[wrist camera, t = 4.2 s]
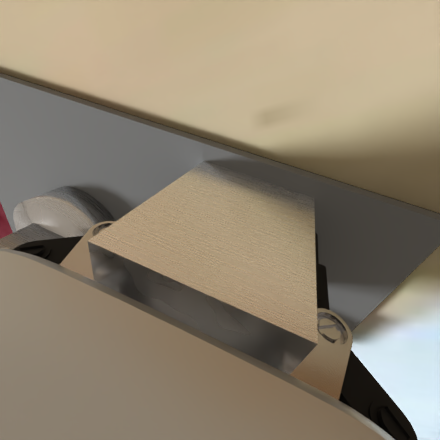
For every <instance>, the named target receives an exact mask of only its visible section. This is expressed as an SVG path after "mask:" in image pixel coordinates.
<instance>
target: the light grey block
mask: <svg viewBox="0 0 440 440" xmlns="http://www.w3.org/2000/svg"><path fill="white" fill-rule="evenodd" d="M88 247H89V253H90V259H91V265H92V271H93V277H94V279H95V280H97V281H99V283H100V284H102V285H104V286H106V287H108V288H111V289H113V290H115V291H117V292H119V293H121V294H123V295H125V296H127V297H130V298H132V299H134V300H136V301H138V302H140V303H142V304H144V305H146V306H149V307H151V308H153V309H155V310H157V311H159V312H161V313H163V314H165V315H167V316H169V317H172V318H174V319H176V320H178V321H180V322H182V323H184V324H186V325H188V326H190V327H192V328H194V329H196V330H199V331H201V332H203V333H205V334H207V335H209V336H211V337H213V338H215V339H217V340H219V341H221V342H223V343H225V344H228V345H230V346H232V347H234V348H236V349H238V350H240V351H242V352H244V353H246V354H248V355H250V356H252V357H254V358H256V359H258V360H260V361H262V362H265V363H267V364H269V365H271V366H273V367H275V368H277V369H279V370H281V371H283V370H285V371H287V372H289V373H292V372H293V371H294V370H295V368H296V367H297V366H298V365H299V364H300V363H301V362H302V361H303V360H304V359H305V358H306V356H307V355H308V354H309V353H310V352H311V351H312V350H313V349H314V348H315V347H316V346H317V344H318V331H317V291H316V251H315V212H314V198H312V197H309V196H307V195H304V194H301V193H298V192H295V191H292V190H289V189H286V188H283V187H280V186H277V185H274V184H271V183H268V182H265V181H262V180H259V179H256V178H253V177H251V176H248V175H245V174H242V173H239V172H236V171H233V170H230V169H227V168H224V167H221V166H218V165H215V164H212V163H209V162H206V161H203V162H202V163H200V164H199V165H197V166H196V167H194V168H193V169H192V170H190V171H189V172H187V173H186V174H184V175H183V176H181V177H180V178H178V179H177V180H176V181H174V182H173V183H171V184H170V185H168V186H167V187H165V188H164V189H162V190H161V191H159V192H158V193H157V194H155V195H154V196H152V197H151V198H149V199H148V200H146V201H145V202H143V203H142V204H141V205H139V206H138V207H136V208H135V209H133V210H132V211H130V212H129V213H127V214H126V215H125V216H123V217H122V218H120V219H119V220H117V221H116V222H114V223H113V224H111V225H110V226H109V227H107V228H106V229H104V230H103V231H101V232H100V233H98V234H97V235H95V236H94V237H92V238H91V239H90V240H88Z"/></svg>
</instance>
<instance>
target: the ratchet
mask: <svg viewBox="0 0 440 440" xmlns="http://www.w3.org/2000/svg"><path fill="white" fill-rule="evenodd" d="M13 219H14V224H15V227H16V230H17V231H16V232H14V233H12V234H10V235H8V236H6V237H4V238H2V239H0V248H10V249H11V250H13V249H14V248H16V247H18V246H19V245H21V244H24V243H27V242H32V241H38V240H47V239H57V238H66V237H76V236H84V235H85V234H86V233H87V231H88V230H89V229H90V228H91V227H92V226H93V225H95V224H97V223H100V222H104V221H116V220H115V219H114V218H113V216H112V215H111V214H110V213H109V211H108V210H107V209H106V208H105V207H104V206H103V205H102V204H101V203H100V202H99V201H97V200H96V199H95V198H93V197H92V196H91V195H89V194H87V193H86V192H84V191H82V190H79V189H77V188H73V187H67V186H63V187H58V188H56V189H53V190H51V191H48V192H46V193H43V194H41V195H38V196H36V197H33V198H31V199H28V200H26V201H23V202H21V203H19V204H18V205H17V206H16V207H15V209H14V213H13Z"/></svg>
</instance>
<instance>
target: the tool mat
mask: <svg viewBox="0 0 440 440" xmlns="http://www.w3.org/2000/svg"><path fill="white" fill-rule="evenodd" d="M203 161H206V162H209V163H212V164H215V165H218V166H221V167H224V168H227V169H230V170H233V171H236V172H239V173H242V174H245V175H248V176H251V177H253V178H256V179H259V180H262V181H265V182H268V183H271V184H274V185H277V186H280V187H283V188H286V189H289V190H292V191H295V192H298V193H301V194H304V195H307V196H309V197H312V198H314V212H315V233H317V235H318V259H319V264H321V265H324V266H325V267H326V272H327V285H328V297H329V309H330V311H332V312H334V313H336V314H337V315H338V316H339V317H341V318H342V319H343V320H344V322H345V323H346V324H347V325H348V327H349V329H350V330H351V331H352V330H353V329H354V328H355V327H356V326H358V325H359V324H360V323H361V322H362V321H363V320H364V319H365V318H366V317H367V316H368V315H369V314H370V313H371V312H372V311H373V310H374V309H375V308H376V307H377V306H378V305H379V304H380V303H381V302H382V301H383V300H384V299H385V298H386V297H387V296H388V295H389V294H390V293H391V292H392V291H393V290H394V289H395V288H396V287H397V286H398V285H399V284H401V283H402V282H403V281H404V280H405V279H406V278H407V277H408V276H409V275H410V274H411V273H412V272H413V271H414V270H415V269H416V268H417V267H418V266H419V265H420V264H421V263H422V262H423V261H424V260H425V259H426V258H427V257H428V256H429V255H430V254H431V253H432V252H433V251H434V250H435V249H436V248H437V247H438V246H439V245H440V214H439V213H436V212H433V211H429V210H426V209H423V208H420V207H417V206H414V205H411V204H408V203H404V202H401V201H398V200H395V199H392V198H389V197H386V196H383V195H380V194H376V193H373V192H370V191H367V190H364V189H361V188H358V187H355V186H351V185H348V184H345V183H342V182H339V181H336V180H333V179H330V178H327V177H323V176H320V175H317V174H314V173H311V172H308V171H305V170H302V169H298V168H295V167H292V166H289V165H286V164H283V163H280V162H277V161H274V160H270V159H267V158H264V157H261V156H258V155H255V154H252V153H249V152H245V151H242V150H239V149H236V148H233V147H230V146H227V145H224V144H221V143H217V142H214V141H211V140H208V139H205V138H202V137H199V136H196V135H192V134H189V133H186V132H183V131H180V130H177V129H174V128H171V127H168V126H164V125H161V124H158V123H155V122H152V121H149V120H146V119H143V118H139V117H136V116H133V115H130V114H127V113H124V112H121V111H118V110H115V109H111V108H108V107H105V106H102V105H99V104H96V103H93V102H90V101H86V100H83V99H80V98H77V97H74V96H71V95H68V94H65V93H62V92H58V91H55V90H52V89H49V88H46V87H43V86H40V85H37V84H33V83H30V82H27V81H24V80H21V79H18V78H15V77H12V76H9V75H5V74H2V73H0V202H1V204H2V207H3V209H4V211H5V214H6V216H7V219H8V221H9V224H10V226H11V229H12V231H13V233H14V232H16V231H17V230H16V227H15V224H14V219H13V213H14V209H15V207H16V206H17V205H18V204H19V203H21V202H23V201H26V200H28V199H31V198H33V197H36V196H38V195H41V194H43V193H46V192H48V191H51V190H53V189H56V188H58V187H63V186H67V187H73V188H77V189H79V190H82V191H84V192H86V193H87V194H89V195H91V196H92V197H93V198H95V199H96V200H97V201H99V202H100V203H101V204H102V205H103V206H104V207H105V208H106V209H107V210H108V211H109V213H110V214H111V215H112V216H113V218H114V219H115V220H116V221H117V220H119V219H120V218H122V217H123V216H125V215H126V214H127V213H129V212H130V211H132V210H133V209H135V208H136V207H138V206H139V205H141V204H142V203H143V202H145V201H146V200H148V199H149V198H151V197H152V196H154V195H155V194H157V193H158V192H159V191H161V190H162V189H164V188H165V187H167V186H168V185H170V184H171V183H173V182H174V181H176V180H177V179H178V178H180V177H181V176H183V175H184V174H186V173H187V172H189V171H190V170H192V169H193V168H194V167H196V166H197V165H199V164H200V163H202V162H203Z"/></svg>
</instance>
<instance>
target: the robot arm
mask: <svg viewBox="0 0 440 440" xmlns="http://www.w3.org/2000/svg"><path fill="white" fill-rule="evenodd" d="M114 222H116V221H104V222H100V223H97V224H95V225H93V226H92V227H91V228H90V229H89V230H88V231H87V233H86V234H85V235H84V236H76V237H66V238H57V239H47V240H38V241H32V242H27V243H24V244H21V245H19V246H18V247H16V248H14V249H13V250H11V249H10V248H0V440H417V436H416V433H415V431H414V429H413V427H412V425H411V423H410V422H409V421H408V419H407V418H406V416H405V415H404V414H403V412H402V411H401V410H400V409H399V407H398V406H397V405H396V404H395V403H394V401H393V400H392V399H391V398H390V397H389V395H388V394H387V393H386V392H385V391H384V389H383V388H382V387H381V386H380V385H379V383H378V382H377V381H376V380H375V378H374V377H373V376H372V375H371V374H370V372H369V371H368V370H367V369H366V368H365V366H364V365H363V364H362V363H361V362H360V360H359V359H358V358H357V357H356V356H355V354H354V353H353V352H352V351H351V347H352V343H353V337H352V333H351V330H350V329H349V327H348V325H347V324H346V323H345V322H344V320H343V319H342V318H341V317H339V316H338V315H337V314H336V313H334V312H332V311H330V309H329V297H328V285H327V272H326V267H325V266H324V265H321V264H319V259H318V235H317V233H315V251H316V291H317V331H318V344H317V346H316V347H315V348H314V349H313V350H312V351H311V352H310V353H309V354H308V355H307V356H306V358H305V359H304V360H303V361H302V362H301V363H300V364H299V365H298V366H297V367H296V368H295V370H294V371H293V372H292V373H289V372H287V371H285V370H283V371H281V370H279V369H277V368H275V367H273V366H271V365H269V364H267V363H265V362H262V361H260V360H258V359H256V358H254V357H252V356H250V355H248V354H246V353H244V352H242V351H240V350H238V349H236V348H234V347H232V346H230V345H228V344H225V343H223V342H221V341H219V340H217V339H215V338H213V337H211V336H209V335H207V334H205V333H203V332H201V331H199V330H196V329H194V328H192V327H190V326H188V325H186V324H184V323H182V322H180V321H178V320H176V319H174V318H172V317H169V316H167V315H165V314H163V313H161V312H159V311H157V310H155V309H153V308H151V307H149V306H146V305H144V304H142V303H140V302H138V301H136V300H134V299H132V298H130V297H127V296H125V295H123V294H121V293H119V292H117V291H115V290H113V289H111V288H108V287H106V286H104V285H102V284H100V283H99V281H97V280H95V279H94V277H93V271H92V265H91V259H90V253H89V247H88V240H90V239H91V238H92V237H94V236H95V235H97V234H98V233H100V232H101V231H103V230H104V229H106V228H107V227H109V226H110V225H111V224H113V223H114Z"/></svg>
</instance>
